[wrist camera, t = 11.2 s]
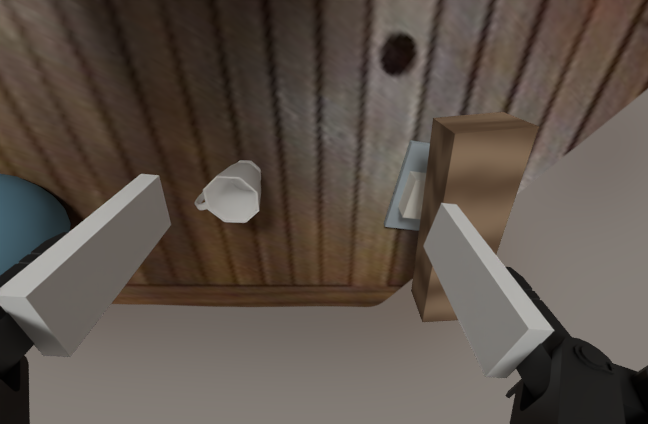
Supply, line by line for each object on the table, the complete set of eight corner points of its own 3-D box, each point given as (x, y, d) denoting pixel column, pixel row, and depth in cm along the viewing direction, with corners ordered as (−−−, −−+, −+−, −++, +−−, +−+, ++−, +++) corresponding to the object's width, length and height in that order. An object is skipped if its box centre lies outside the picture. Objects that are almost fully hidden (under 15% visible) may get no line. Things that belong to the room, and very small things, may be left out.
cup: (278, 186, 41) (270, 215, 34) (221, 205, 43) (201, 236, 36) (257, 143, 38) (242, 166, 31) (195, 166, 39) (168, 193, 33)
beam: (433, 118, 28) (455, 133, 23) (502, 111, 28) (539, 126, 23) (411, 290, 42) (422, 322, 37) (457, 287, 42) (474, 319, 37)
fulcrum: (410, 140, 37) (429, 162, 31) (478, 150, 38) (512, 174, 31) (383, 223, 45) (394, 255, 38) (441, 229, 46) (462, 263, 39)
